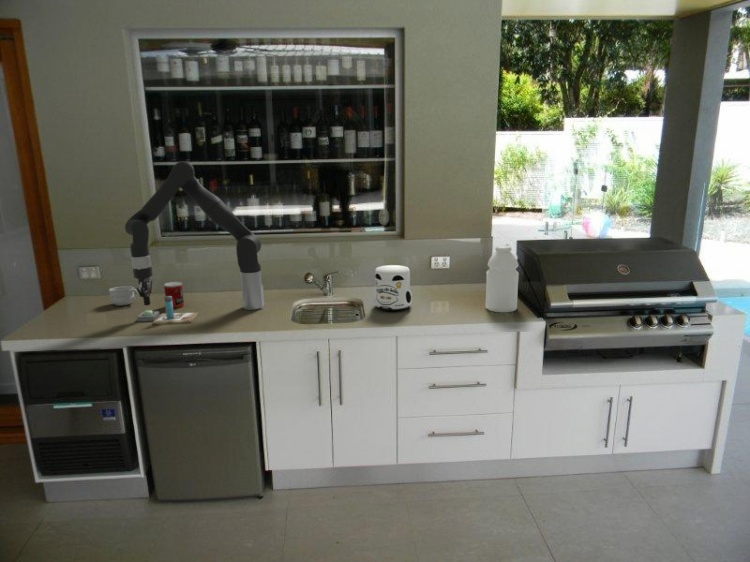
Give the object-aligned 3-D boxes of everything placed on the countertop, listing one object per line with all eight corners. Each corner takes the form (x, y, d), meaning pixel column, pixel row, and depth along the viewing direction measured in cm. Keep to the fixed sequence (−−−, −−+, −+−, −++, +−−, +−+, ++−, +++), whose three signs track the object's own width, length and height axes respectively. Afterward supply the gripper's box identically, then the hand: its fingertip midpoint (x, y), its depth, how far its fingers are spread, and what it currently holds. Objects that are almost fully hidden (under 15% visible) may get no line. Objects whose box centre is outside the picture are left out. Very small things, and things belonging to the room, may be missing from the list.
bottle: (479, 308, 249) (480, 247, 242) (495, 301, 259) (497, 242, 251) (507, 315, 240) (509, 251, 232) (523, 307, 249) (526, 246, 242)
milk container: (378, 314, 243) (377, 274, 239) (370, 303, 260) (369, 265, 255) (416, 311, 247) (416, 272, 242) (406, 300, 263) (406, 263, 258)
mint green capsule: (154, 316, 246) (153, 310, 245) (151, 319, 243) (150, 312, 242) (146, 316, 246) (145, 310, 245) (143, 319, 242) (142, 312, 242)
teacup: (106, 306, 264) (103, 289, 262) (124, 299, 273) (121, 284, 271) (128, 309, 258) (126, 292, 256) (146, 302, 268) (143, 286, 266)
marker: (175, 316, 243) (172, 295, 241) (172, 318, 240) (170, 297, 238) (167, 317, 242) (165, 296, 241) (165, 319, 239) (163, 297, 238)
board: (198, 314, 249) (198, 311, 249) (191, 322, 237) (190, 320, 237) (162, 315, 248) (161, 312, 248) (153, 324, 237) (152, 321, 236)
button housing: (159, 315, 248) (159, 311, 247) (154, 320, 241) (153, 316, 241) (143, 316, 248) (143, 311, 247) (137, 321, 241) (137, 316, 240)
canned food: (178, 309, 257) (176, 286, 254) (163, 308, 258) (160, 285, 255) (187, 304, 264) (185, 281, 261) (172, 303, 265) (169, 281, 263)
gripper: (138, 263, 244) (143, 300, 249) (127, 270, 231) (133, 309, 236) (155, 262, 244) (161, 300, 249) (145, 269, 232) (151, 309, 236)
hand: (147, 304), depth 242 cm, fingers closed
